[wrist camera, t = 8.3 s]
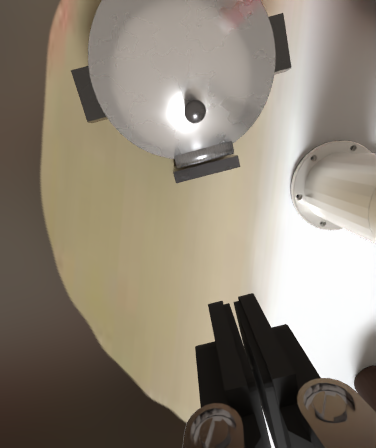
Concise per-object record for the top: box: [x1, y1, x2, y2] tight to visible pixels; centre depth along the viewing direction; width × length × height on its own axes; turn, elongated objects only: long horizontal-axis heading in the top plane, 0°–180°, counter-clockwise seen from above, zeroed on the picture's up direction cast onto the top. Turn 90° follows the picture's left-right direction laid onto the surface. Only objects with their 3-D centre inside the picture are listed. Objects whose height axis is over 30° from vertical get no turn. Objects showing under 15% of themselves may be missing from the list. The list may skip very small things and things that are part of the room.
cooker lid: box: [88, 0, 275, 168], centre depth 28 cm, size 18×21×3 cm
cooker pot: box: [71, 13, 291, 183], centre depth 35 cm, size 22×19×10 cm
